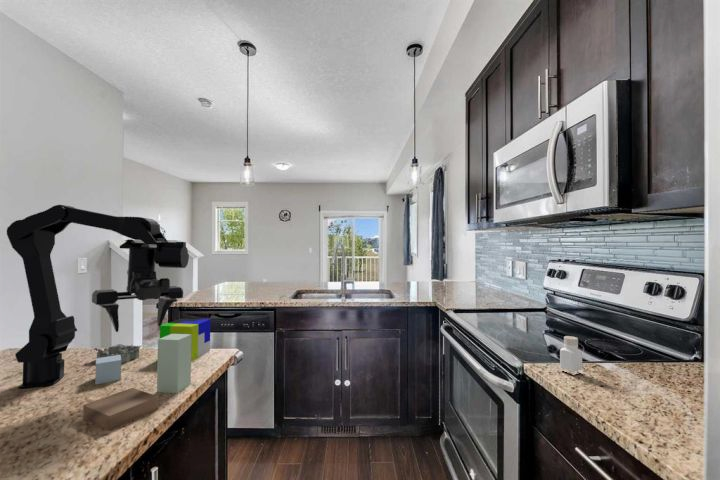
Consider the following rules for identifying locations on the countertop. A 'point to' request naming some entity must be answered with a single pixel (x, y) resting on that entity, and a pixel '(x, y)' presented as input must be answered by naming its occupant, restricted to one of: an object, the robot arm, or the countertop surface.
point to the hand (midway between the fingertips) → (138, 328)
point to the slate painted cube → (108, 369)
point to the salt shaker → (571, 355)
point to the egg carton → (120, 352)
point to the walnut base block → (120, 408)
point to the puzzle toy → (190, 326)
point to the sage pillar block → (174, 363)
